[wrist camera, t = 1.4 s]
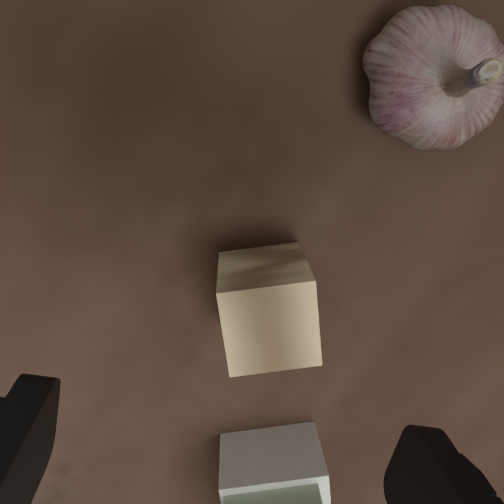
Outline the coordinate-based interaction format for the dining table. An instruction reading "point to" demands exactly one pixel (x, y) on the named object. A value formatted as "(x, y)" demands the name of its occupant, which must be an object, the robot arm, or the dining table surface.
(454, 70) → the garlic bulb
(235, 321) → the beige metal block
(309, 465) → the grey base block
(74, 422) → the dining table surface
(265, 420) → the dining table surface
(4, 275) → the dining table surface
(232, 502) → the sage block
